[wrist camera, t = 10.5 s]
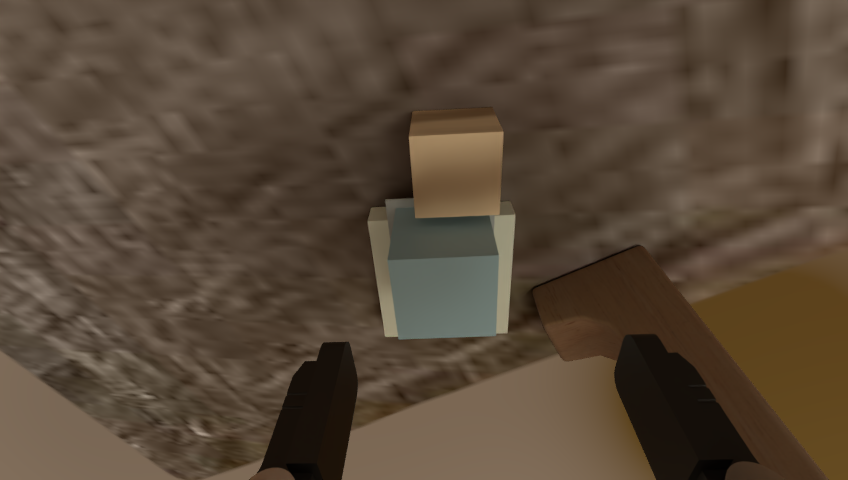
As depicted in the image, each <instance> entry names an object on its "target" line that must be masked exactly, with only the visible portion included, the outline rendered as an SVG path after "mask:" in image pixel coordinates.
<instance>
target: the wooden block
mask: <svg viewBox="0 0 848 480" xmlns="http://www.w3.org/2000/svg"><path fill="white" fill-rule="evenodd" d="M533 297H534V300H535V303H536V307H537V310H538V313H539V316H540V319H541V322H542V325H543V328H544V330H545V331H546V333H547V335H548V336H549V338H550V340H551V342H552V343H553V345H554V347H555V348H556V350H557V352H558V354H559V355H560V357H561V358H562V359H563V360H564V361H573V360H578V359H583V358H589V357H594V356H599V355H601V356H604V357H607V358H610V359H613V360H617V359H618V356H619V352H620V349H621V345H622V342H623V339H624V337H625V335H630V334H655V335H657V336H658V337H659V339H660V340H661V342H662V343H663V345H664V346H665V348H666V350H667V351H668V353H674V352H678V353H679V354H680V355H681V356H682V357H683V358H685V359H686V360H687V361H688V362H689V363H691V364H692V365H693V366H694V367H695V368H696V369H697V371H698V373H699V374H700V376H701V377H702V379H703V380H704V382H705V383H706V387H707V388H709V389H710V391H711V392H712V394H713V395H714V397H715V398H716V402H717V403H719V404H720V406H721V407H722V409H723V410H724V412H725V413H726V415H727V416H728V418H729V419H730V421H731V423H732V424H733V426H734V427H735V429H736V430H737V432H738V433H739V435H740V436H741V438H742V439H743V441H744V442H745V444H746V445H747V447H748V448H749V450H750V451H751V453H752V454H753V456H754V457H755V459H756V460H757V461H758V462H759V463H760V465H763V466H765V467H767V468H769V469H771V470H773V471H775V472H776V473H778V474H779V475H781V476H782V477H783V478H784V479H785V480H829V479H828V478H827V477H826V476H825V475H824V473H823V472H822V471H821V469H820V468H819V467H818V466H817V464H816V463H815V462H814V461H813V459H812V458H811V457H810V456H809V454H808V453H807V452H806V450H805V449H804V448H803V447H802V445H801V444H800V443H799V442H798V440H797V439H796V438H795V437H794V435H793V434H792V433H791V432H790V431H789V429H788V428H787V427H786V425H785V424H784V423H783V421H782V420H781V419H780V418H779V417H778V415H777V414H776V413H775V411H774V410H773V409H772V408H771V406H770V405H769V404H768V403H767V401H766V400H765V399H764V398H763V396H762V395H761V394H760V392H759V391H758V390H757V389H756V387H755V386H754V385H753V384H752V382H751V381H750V380H749V379H748V377H747V376H746V375H745V374H744V372H743V371H742V370H741V369H740V367H739V366H738V365H737V363H736V362H735V361H734V360H733V358H732V357H731V356H730V355H729V353H728V352H727V351H726V350H725V348H724V347H723V346H722V345H721V343H720V342H719V341H718V340H717V338H716V337H715V336H714V335H713V333H712V332H711V331H710V330H709V328H708V327H707V326H706V325H705V323H704V322H703V321H702V320H701V318H700V317H699V316H698V314H697V313H696V312H695V311H694V309H693V308H692V307H691V306H690V304H689V303H688V302H687V301H686V299H685V298H684V297H683V296H682V294H681V293H680V292H679V291H678V289H677V288H676V287H675V286H674V284H673V283H672V282H671V281H670V279H669V278H668V277H667V275H666V274H665V273H664V272H663V270H662V269H661V268H660V267H659V265H658V264H657V263H656V261H655V260H654V259H653V258H652V256H651V255H650V254H649V253H648V251H647V250H646V249H645V248H644V247H643V246H636V247H634V248H632V249H629V250H627V251H624V252H622V253H619V254H617V255H614V256H612V257H610V258H607V259H605V260H602V261H600V262H597V263H595V264H592V265H590V266H588V267H585V268H583V269H580V270H578V271H575V272H573V273H570V274H568V275H566V276H563V277H561V278H558V279H556V280H553V281H551V282H548V283H546V284H544V285H541V286H539V287H536V288H535V289H533Z"/></svg>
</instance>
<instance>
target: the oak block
mask: <svg viewBox="0 0 848 480" xmlns="http://www.w3.org/2000/svg"><path fill="white" fill-rule="evenodd" d="M409 145H410V158H411V171H412V183H413V196H414V209H415V218H436V217H460V216H484V215H500V195H501V174H502V153H503V129H502V127H501V125H500V123H499V121H498V119H497V117H496V114H495V112H494V110H493V108H492V107H483V108H464V109H446V110H427V111H413V112H412V119H411V125H410V132H409Z"/></svg>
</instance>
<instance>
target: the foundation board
mask: <svg viewBox="0 0 848 480" xmlns="http://www.w3.org/2000/svg"><path fill="white" fill-rule="evenodd" d="M385 203H386V207H371V210H370V214H369V217H368V228H369V234H370V241H371V247H372V254H373V260H374V267H375V273H376V280H377V286H378V293H379V299H380V306H381V312H382V319H383V325H384V332H385V337H398V332H397V325H396V318H395V311H394V304H393V297H392V289H391V282H390V275H389V268H388V261H387V260H388V254H389V247H390V241H391V235H392V228H393V222H394V216H395V210H396V208H409V207H414V198H402V199H385ZM489 216H490V220H491V224H492V229H493V233H494V237H495V241H496V245H497V249H498V253H499V269H498V296H497V323H496V333H507V331H508V317H509V302H510V287H511V272H512V257H513V243H514V228H515V212H514V209H513V207H512V204H511V201H502V202H500V215H489Z"/></svg>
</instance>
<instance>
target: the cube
mask: <svg viewBox="0 0 848 480" xmlns="http://www.w3.org/2000/svg"><path fill="white" fill-rule="evenodd" d="M387 261H388V268H389V275H390V282H391V289H392V297H393V304H394V311H395V318H396V325H397V332H398V339H424V338H452V337H480V336H496V323H497V296H498V269H499V253H498V249H497V245H496V241H495V237H494V233H493V229H492V224H491V220H490V216H489V215H484V216H460V217H436V218H415V209H414V207H409V208H396V210H395V216H394V222H393V228H392V235H391V241H390V247H389V254H388V260H387Z"/></svg>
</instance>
